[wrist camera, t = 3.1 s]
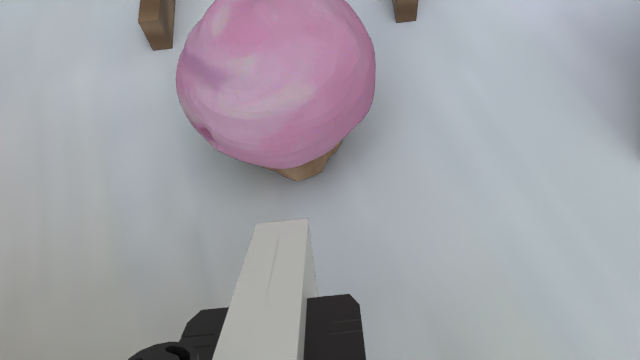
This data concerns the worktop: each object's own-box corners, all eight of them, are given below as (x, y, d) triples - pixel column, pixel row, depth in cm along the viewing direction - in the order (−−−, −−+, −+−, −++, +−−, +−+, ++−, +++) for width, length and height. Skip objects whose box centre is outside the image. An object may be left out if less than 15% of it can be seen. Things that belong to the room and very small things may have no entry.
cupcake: (280, 59, 33) (248, -89, 24) (405, 123, 30) (420, -17, 21) (184, 168, 30) (106, 46, 21) (312, 251, 27) (285, 150, 18)
